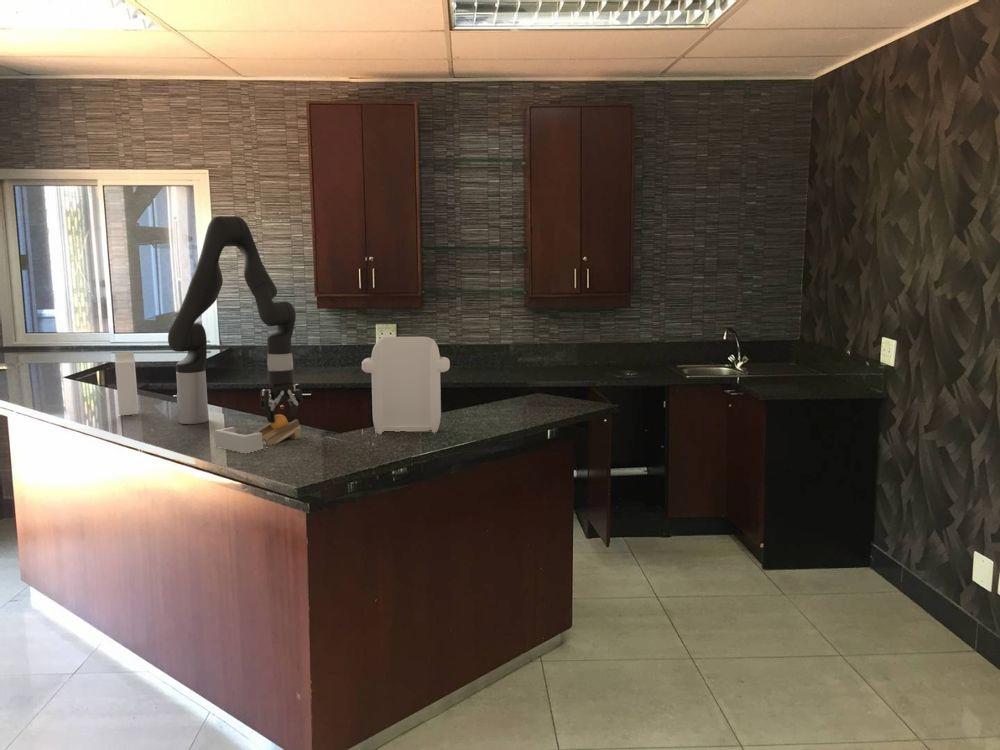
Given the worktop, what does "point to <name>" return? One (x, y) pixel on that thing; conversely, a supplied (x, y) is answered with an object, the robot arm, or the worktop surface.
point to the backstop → (238, 440)
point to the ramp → (280, 432)
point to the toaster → (406, 384)
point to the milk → (126, 383)
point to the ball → (279, 422)
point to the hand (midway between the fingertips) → (282, 420)
